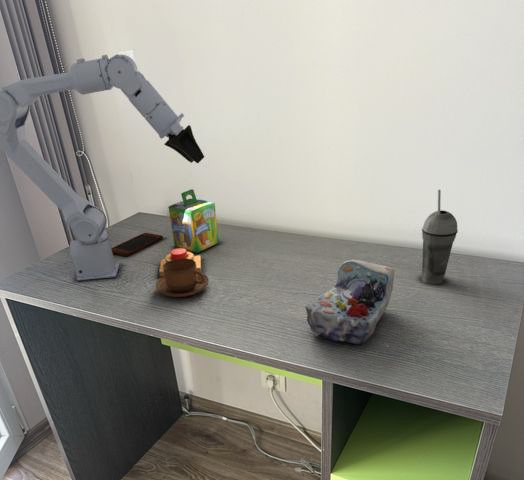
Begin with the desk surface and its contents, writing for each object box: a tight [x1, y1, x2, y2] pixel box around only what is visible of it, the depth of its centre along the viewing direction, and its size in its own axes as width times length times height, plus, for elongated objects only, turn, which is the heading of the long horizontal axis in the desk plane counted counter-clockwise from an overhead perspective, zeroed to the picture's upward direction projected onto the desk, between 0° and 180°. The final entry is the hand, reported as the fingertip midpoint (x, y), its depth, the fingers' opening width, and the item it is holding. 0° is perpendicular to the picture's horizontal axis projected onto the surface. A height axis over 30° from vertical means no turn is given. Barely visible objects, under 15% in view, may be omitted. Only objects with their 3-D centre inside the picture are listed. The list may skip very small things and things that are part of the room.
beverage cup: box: [421, 189, 458, 285], centre depth 106 cm, size 7×7×20 cm
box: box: [158, 251, 202, 278], centre depth 123 cm, size 10×8×3 cm
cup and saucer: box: [155, 259, 209, 298], centre depth 112 cm, size 12×12×6 cm
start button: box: [169, 248, 188, 260], centre depth 122 cm, size 4×4×2 cm
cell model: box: [305, 259, 395, 345], centre depth 94 cm, size 13×11×20 cm
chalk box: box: [167, 188, 220, 254], centre depth 133 cm, size 9×9×15 cm
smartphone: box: [111, 232, 164, 257], centre depth 139 cm, size 7×1×15 cm
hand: (197, 160), depth 112 cm, fingers open, 7 cm apart
